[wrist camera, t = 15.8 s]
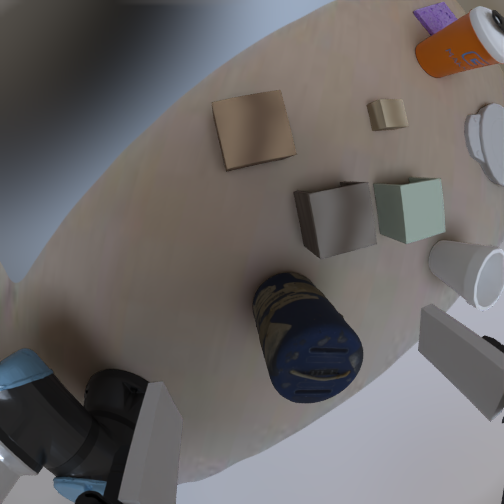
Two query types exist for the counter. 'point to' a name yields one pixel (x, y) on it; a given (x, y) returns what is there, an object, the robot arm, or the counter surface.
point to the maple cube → (387, 114)
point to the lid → (487, 140)
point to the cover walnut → (253, 129)
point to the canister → (304, 340)
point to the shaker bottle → (464, 44)
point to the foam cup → (470, 270)
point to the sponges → (435, 17)
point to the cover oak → (336, 219)
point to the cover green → (410, 209)
